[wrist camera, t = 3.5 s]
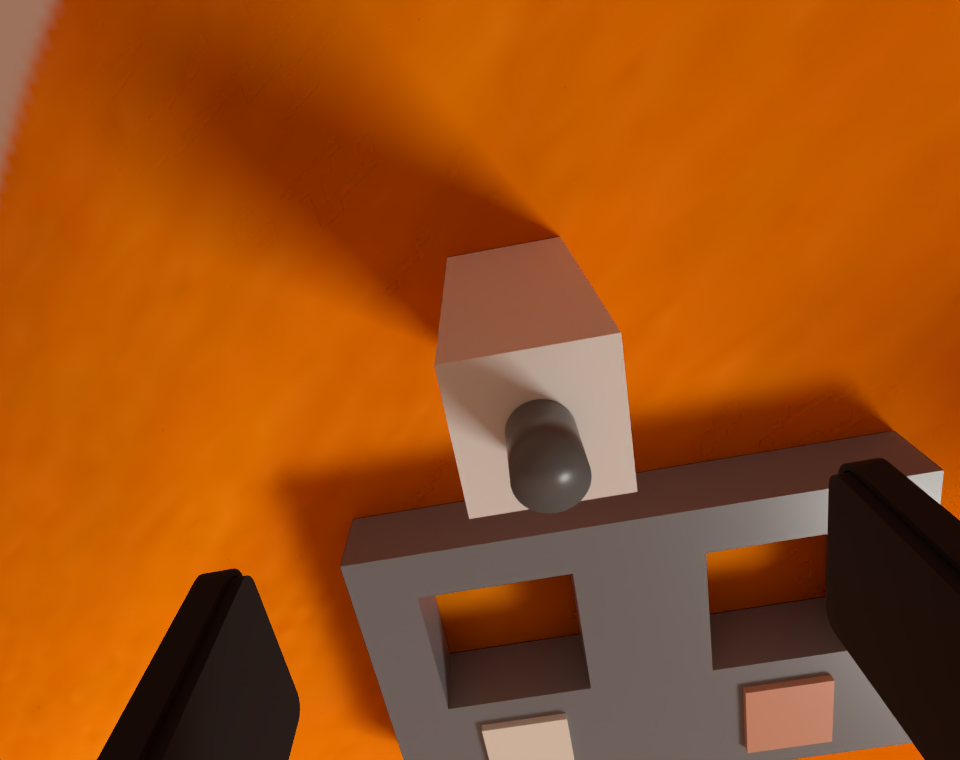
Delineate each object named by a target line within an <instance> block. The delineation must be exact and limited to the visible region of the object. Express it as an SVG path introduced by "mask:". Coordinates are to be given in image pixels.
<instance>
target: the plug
mask: <svg viewBox="0 0 960 760" xmlns="http://www.w3.org/2000/svg"><path fill="white" fill-rule="evenodd" d="M434 366H435V370H436V374H437V379H438V383H439V388H440V392H441V397H442V401H443V405H444V410H445V414H446V419H447V423H448V428H449V432H450V436H451V441H452V445H453V450H454V454H455V459H456V463H457V467H458V472H459V476H460V481H461V485H462V490H463V494H464V498H465V503H466V507H467V512H468V516H469V519H473V518H479V517H485V516H491V515H497V514H504V513H510V512H516V511H522V510H528V509H530V510H533V511H536V512H540V513H558V512H562V511H565V510H567V509H570V508H572V507H573V506H575V505H576V504H578V503H579V502H580V501H584V500H590V499H596V498H602V497H608V496H614V495H621V494H627V493H633V492H637V482H636V472H635V462H634V453H633V443H632V433H631V424H630V414H629V404H628V395H627V385H626V375H625V365H624V356H623V346H622V336H621V332H620V330H619V328H618V327H617V325H616V324H615V322H614V321H613V319H612V317H611V316H610V314H609V313H608V311H607V310H606V308H605V306H604V305H603V303H602V302H601V300H600V298H599V297H598V295H597V294H596V292H595V291H594V289H593V287H592V286H591V284H590V283H589V281H588V280H587V278H586V276H585V275H584V273H583V272H582V270H581V268H580V267H579V265H578V264H577V262H576V261H575V259H574V257H573V256H572V254H571V253H570V251H569V250H568V248H567V246H566V245H565V243H564V242H563V240H562V239H561V237H556V238H550V239H545V240H540V241H534V242H529V243H523V244H518V245H512V246H507V247H502V248H496V249H491V250H485V251H480V252H475V253H469V254H464V255H458V256H453V257H447V264H446V272H445V280H444V289H443V297H442V306H441V314H440V323H439V331H438V340H437V348H436V356H435V365H434Z"/></svg>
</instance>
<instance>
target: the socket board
mask: <svg viewBox="0 0 960 760" xmlns="http://www.w3.org/2000/svg"><path fill="white" fill-rule="evenodd" d="M874 458H883V459H885V460H887V461H888V462H890V463H891V464H892V465H893V466H894V467H896V468H897V469H898V470H899V471H900V472H902V473H903V474H904V475H905V476H906V477H908V478H909V479H910V480H911V481H912V482H914V483H915V484H916V485H917V486H918V487H920V488H921V489H922V490H923V491H924V492H926V493H927V494H928V495H929V496H930V497H932V498H933V499H934V500H935V501H936V502H938V503H939V504H940V501H941V492H942V483H943V474H944V470H943V469H942V468H940V467H939V466H938V465H937V464H935V463H934V462H933V461H932V460H930V459H929V458H928V457H927V456H925V455H924V454H923V453H922V452H920V451H919V450H918V449H917V448H915V447H914V446H913V445H912V444H910V443H909V442H908V441H907V440H905V439H904V438H903V437H902V436H900V435H899V434H898V433H897V432H895V431H890V432H884V433H878V434H871V435H865V436H859V437H853V438H847V439H841V440H835V441H829V442H823V443H816V444H810V445H804V446H798V447H792V448H786V449H780V450H774V451H768V452H761V453H755V454H749V455H743V456H737V457H731V458H725V459H719V460H713V461H706V462H700V463H694V464H688V465H682V466H676V467H670V468H664V469H658V470H651V471H645V472H639V473H636V482H637V492H633V493H627V494H621V495H614V496H608V497H602V498H596V499H590V500H584V501H580V502H579V503H578V504H576V505H575V506H573V507H572V508H570V509H567V510H565V511H562V512H558V513H540V512H536V511H533V510H530V509H528V510H522V511H516V512H510V513H504V514H497V515H491V516H485V517H479V518H473V519H469V516H468V512H467V507H466V503H465V501H462V502H456V503H450V504H444V505H438V506H431V507H425V508H419V509H413V510H407V511H401V512H395V513H389V514H383V515H377V516H370V517H364V518H358V519H353V520H352V524H351V528H350V532H349V535H348V539H347V543H346V547H345V550H344V554H343V558H342V562H341V565H340V568H341V571H342V574H343V577H344V580H345V583H346V586H347V589H348V592H349V595H350V598H351V601H352V604H353V607H354V610H355V613H356V616H357V619H358V622H359V626H360V629H361V632H362V635H363V638H364V641H365V644H366V647H367V650H368V653H369V656H370V659H371V662H372V665H373V668H374V671H375V674H376V677H377V680H378V683H379V686H380V689H381V692H382V695H383V698H384V701H385V704H386V707H387V710H388V713H389V716H390V720H391V723H392V726H393V729H394V732H395V735H396V738H397V741H398V744H399V747H400V750H401V753H402V756H403V759H404V760H790V759H797V758H804V757H812V756H819V755H826V754H833V753H841V752H848V751H855V750H862V749H870V748H877V747H884V746H891V745H899V744H906V743H913V742H912V741H911V740H910V738H909V737H908V735H907V734H906V732H905V731H904V730H903V728H902V727H901V725H900V724H899V723H898V721H897V720H896V718H895V717H894V716H893V714H892V713H891V711H890V710H889V709H888V707H887V706H886V704H885V703H884V702H883V700H882V699H881V697H880V696H879V695H878V693H877V692H876V690H875V689H874V688H873V686H872V685H871V683H870V682H869V681H868V679H867V678H866V676H865V675H864V674H863V672H862V671H861V669H860V668H859V667H858V665H857V664H856V662H855V661H854V660H853V658H852V657H851V655H850V654H849V653H848V651H847V650H846V648H845V647H844V645H843V644H842V643H841V641H840V640H839V638H838V637H837V636H836V634H835V633H834V631H833V629H832V627H831V625H830V623H829V620H828V617H827V612H826V595H825V597H822V598H816V599H809V600H803V601H796V602H789V603H783V604H776V605H769V606H763V607H756V608H750V609H743V610H736V611H730V612H723V613H716V614H710V615H709V598H708V580H707V563H706V553H709V552H716V551H722V550H728V549H735V548H741V547H748V546H754V545H760V544H767V543H773V542H780V541H786V540H792V539H799V538H805V537H812V536H818V535H824V534H827V535H828V491H829V479H830V477H831V476H832V475H836V474H838V471H839V468H840V466H841V465H843V464H845V463H850V462H856V461H862V460H868V459H874ZM568 574H570V575H571V581H572V588H573V594H574V600H575V607H576V613H577V619H578V625H579V632H580V634H577V635H571V636H564V637H557V638H551V639H544V640H538V641H531V642H524V643H518V644H511V645H504V646H498V647H491V648H485V649H478V650H471V651H465V652H458V653H451V654H450V651H449V648H448V644H447V640H446V636H445V633H444V629H443V625H442V621H441V618H440V614H439V610H438V606H437V602H436V599H435V595H440V594H446V593H453V592H459V591H466V590H472V589H479V588H485V587H491V586H498V585H504V584H511V583H517V582H523V581H530V580H536V579H543V578H549V577H555V576H562V575H568ZM826 579H827V563H826Z"/></svg>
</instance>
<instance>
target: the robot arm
mask: <svg viewBox="0 0 960 760" xmlns="http://www.w3.org/2000/svg"><path fill="white" fill-rule="evenodd" d="M826 612H827V617H828V620H829V623H830V625H831V627H832V629H833V631H834V633H835V634H836V636H837V637H838V638H839V640H840V641H841V643H842V644H843V645H844V647H845V648H846V650H847V651H848V653H849V654H850V655H851V657H852V658H853V660H854V661H855V662H856V664H857V665H858V667H859V668H860V669H861V671H862V672H863V674H864V675H865V676H866V678H867V679H868V681H869V682H870V683H871V685H872V686H873V688H874V689H875V690H876V692H877V693H878V695H879V696H880V697H881V699H882V700H883V702H884V703H885V704H886V706H887V707H888V709H889V710H890V711H891V713H892V714H893V716H894V717H895V718H896V720H897V721H898V723H899V724H900V725H901V727H902V728H903V730H904V731H905V732H906V734H907V735H908V737H909V738H910V740H911V741H912V742H913V744H914V745H915V747H916V748H917V749H918V751H919V752H920V754H921V755H922V756H923V758H924V759H925V760H960V521H959V520H958V519H957V518H956V517H955V516H953V515H952V514H951V513H950V512H949V511H947V510H946V509H945V508H944V507H943V506H941V505H940V504H939V503H938V502H936V501H935V500H934V499H933V498H932V497H930V496H929V495H928V494H927V493H926V492H924V491H923V490H922V489H921V488H920V487H918V486H917V485H916V484H915V483H914V482H912V481H911V480H910V479H909V478H908V477H906V476H905V475H904V474H903V473H902V472H900V471H899V470H898V469H897V468H896V467H894V466H893V465H892V464H891V463H890V462H888V461H887V460H885V459H883V458H874V459H868V460H862V461H856V462H850V463H845V464H843V465H841V466H840V468H839V471H838V474H836V475H832V476H831V477H830V479H829V491H828V535H827V579H826ZM299 715H300V703H299V697H298V693H297V691H296V688H295V685H294V683H293V680H292V678H291V675H290V673H289V670H288V667H287V665H286V662H285V660H284V657H283V655H282V652H281V649H280V647H279V644H278V642H277V639H276V637H275V634H274V631H273V629H272V626H271V624H270V621H269V619H268V616H267V613H266V611H265V608H264V606H263V603H262V601H261V598H260V595H259V593H258V590H257V588H256V585H255V583H254V581H253V579H252V578H251V577H250V576H248V575H247V576H242V574H241V572H240V571H239V570H238V569H229V570H223V571H217V572H211V573H206V574H202V575H199V576H198V577H197V579H196V580H195V582H194V583H193V585H192V587H191V589H190V591H189V593H188V594H187V596H186V598H185V600H184V602H183V604H182V605H181V607H180V609H179V611H178V613H177V615H176V616H175V618H174V620H173V622H172V624H171V626H170V627H169V629H168V631H167V633H166V635H165V636H164V638H163V640H162V642H161V644H160V646H159V647H158V649H157V651H156V653H155V655H154V657H153V658H152V660H151V662H150V664H149V666H148V668H147V669H146V671H145V673H144V675H143V677H142V679H141V680H140V682H139V684H138V686H137V688H136V689H135V691H134V693H133V695H132V697H131V699H130V700H129V702H128V704H127V706H126V708H125V710H124V711H123V713H122V715H121V717H120V719H119V721H118V722H117V724H116V726H115V728H114V730H113V732H112V733H111V735H110V737H109V739H108V741H107V742H106V744H105V746H104V748H103V750H102V752H101V753H100V755H99V757H98V759H97V760H289V756H290V752H291V748H292V744H293V740H294V736H295V732H296V728H297V725H298V721H299Z"/></svg>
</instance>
